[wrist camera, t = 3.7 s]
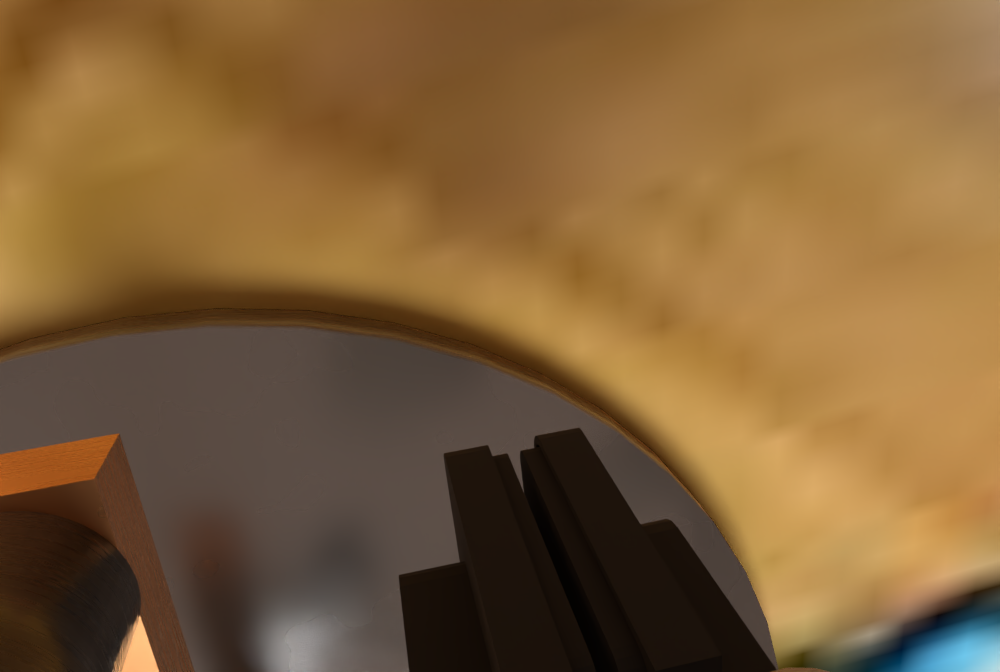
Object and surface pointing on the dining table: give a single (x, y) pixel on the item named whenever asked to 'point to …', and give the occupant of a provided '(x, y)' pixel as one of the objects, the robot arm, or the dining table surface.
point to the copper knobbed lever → (81, 566)
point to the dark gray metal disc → (313, 467)
